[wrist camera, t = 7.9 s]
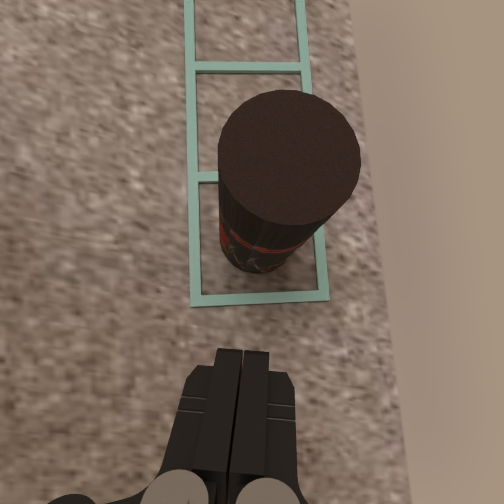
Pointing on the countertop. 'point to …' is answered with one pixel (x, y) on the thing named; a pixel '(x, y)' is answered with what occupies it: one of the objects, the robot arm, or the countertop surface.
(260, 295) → the track
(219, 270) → the countertop surface
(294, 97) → the deodorant
